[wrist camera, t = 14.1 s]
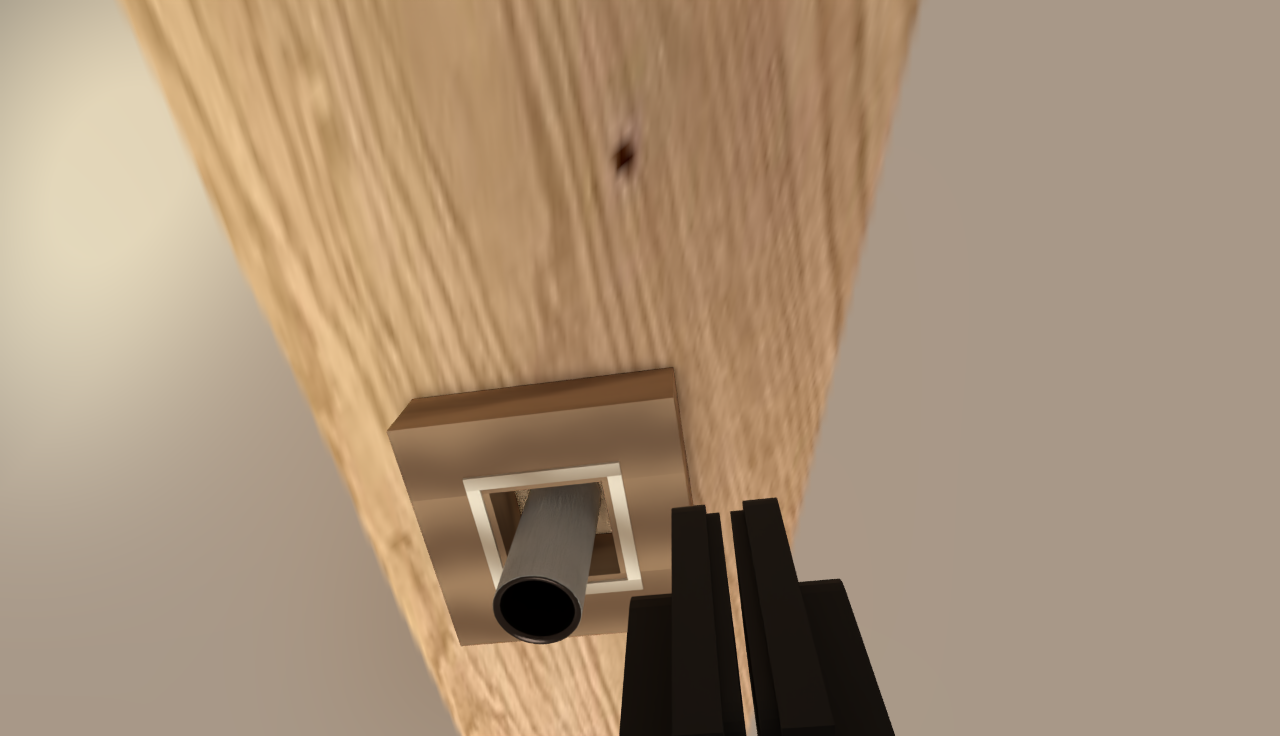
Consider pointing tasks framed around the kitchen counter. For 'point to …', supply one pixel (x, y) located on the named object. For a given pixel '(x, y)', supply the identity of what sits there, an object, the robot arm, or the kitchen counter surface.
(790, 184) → the kitchen counter surface
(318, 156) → the kitchen counter surface
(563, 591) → the grey hollow tube
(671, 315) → the kitchen counter surface
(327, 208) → the kitchen counter surface
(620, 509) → the brown flat square frame
